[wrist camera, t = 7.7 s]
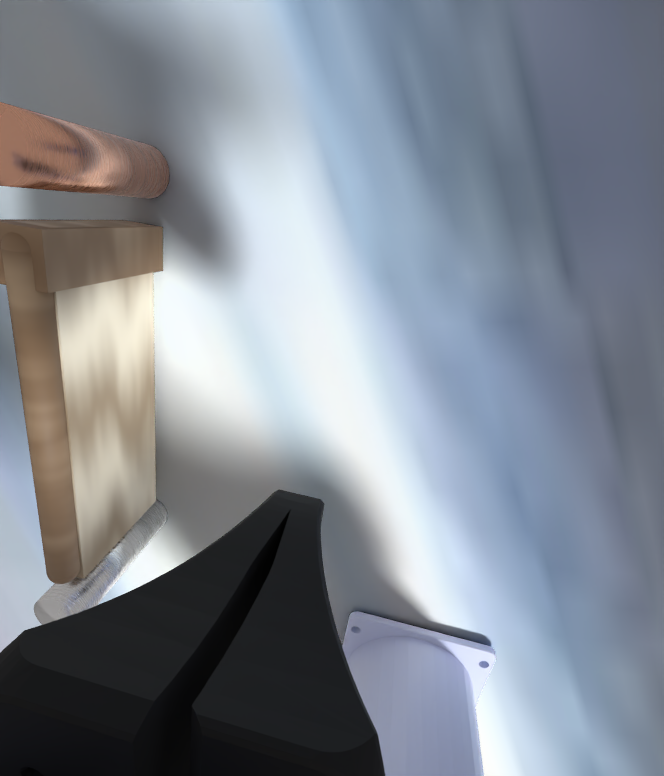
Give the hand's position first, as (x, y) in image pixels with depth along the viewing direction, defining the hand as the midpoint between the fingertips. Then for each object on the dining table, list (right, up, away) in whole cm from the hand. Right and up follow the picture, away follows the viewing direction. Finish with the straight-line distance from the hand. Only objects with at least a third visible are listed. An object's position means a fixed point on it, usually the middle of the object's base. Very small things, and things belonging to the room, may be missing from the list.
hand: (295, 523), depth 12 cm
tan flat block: (-8, +4, +9) cm, 13 cm away
